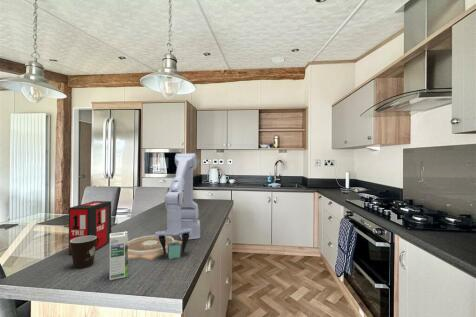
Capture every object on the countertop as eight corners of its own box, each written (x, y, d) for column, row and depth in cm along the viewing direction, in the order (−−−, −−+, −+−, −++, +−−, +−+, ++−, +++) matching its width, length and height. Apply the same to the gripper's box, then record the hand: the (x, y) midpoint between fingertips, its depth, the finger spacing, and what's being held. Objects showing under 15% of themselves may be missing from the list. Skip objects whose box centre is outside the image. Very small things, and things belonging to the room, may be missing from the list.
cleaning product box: (89, 255, 101) (89, 208, 101) (68, 254, 101) (68, 207, 102) (111, 241, 118) (111, 201, 118) (93, 241, 118) (93, 201, 118)
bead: (178, 253, 103) (178, 241, 103) (180, 257, 99) (180, 245, 99) (167, 255, 101) (167, 243, 101) (169, 259, 97) (169, 246, 97)
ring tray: (179, 234, 129) (179, 229, 130) (189, 254, 101) (189, 249, 101) (116, 241, 118) (116, 236, 118) (108, 267, 90) (108, 260, 90)
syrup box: (109, 281, 79) (109, 237, 79) (109, 273, 85) (109, 232, 85) (128, 277, 82) (128, 234, 82) (127, 270, 87) (127, 230, 87)
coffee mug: (76, 272, 85) (76, 244, 86) (65, 266, 90) (65, 240, 90) (108, 260, 95) (108, 235, 95) (97, 256, 100) (97, 232, 100)
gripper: (156, 224, 94) (156, 258, 94) (193, 220, 99) (193, 253, 99) (155, 220, 100) (155, 252, 100) (189, 216, 106) (189, 247, 106)
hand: (173, 252), depth 100 cm, fingers open, 7 cm apart
